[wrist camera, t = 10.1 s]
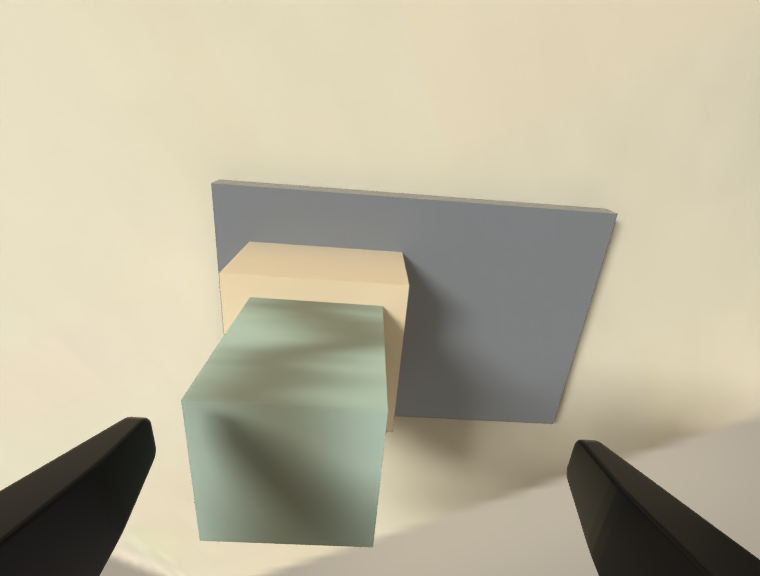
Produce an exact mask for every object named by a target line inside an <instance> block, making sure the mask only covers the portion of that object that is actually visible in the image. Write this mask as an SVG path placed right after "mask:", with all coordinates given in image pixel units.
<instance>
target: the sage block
mask: <svg viewBox="0 0 760 576" xmlns="http://www.w3.org/2000/svg"><path fill="white" fill-rule="evenodd" d="M181 402H182V410H183V417H184V425H185V432H186V440H187V447H188V455H189V462H190V470H191V477H192V485H193V492H194V500H195V507H196V515H197V522H198V530H199V537H200V541H223V542H249V543H275V544H301V545H327V546H353V547H373V542H374V533H375V524H376V515H377V505H378V496H379V487H380V478H381V469H382V460H383V451H384V442H385V433H386V424H387V415H388V403H387V383H386V364H385V344H384V325H383V306H376V305H361V304H346V303H331V302H315V301H300V300H285V299H270V298H255V297H250V298H249V299H248V301H247V302H246V304H245V305H244V307H243V308H242V310H241V311H240V313H239V314H238V316H237V317H236V319H235V320H234V322H233V323H232V325H231V326H230V328H229V329H228V331H227V332H226V334H225V335H224V337H223V338H222V340H221V341H220V343H219V344H218V346H217V347H216V349H215V350H214V352H213V353H212V355H211V356H210V358H209V359H208V361H207V362H206V364H205V365H204V367H203V368H202V370H201V371H200V373H199V374H198V376H197V377H196V379H195V380H194V382H193V383H192V385H191V386H190V388H189V389H188V391H187V392H186V394H185V395H184V397H183V398H182V400H181Z"/></svg>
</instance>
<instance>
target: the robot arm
mask: <svg viewBox="0 0 760 576" xmlns="http://www.w3.org/2000/svg"><path fill="white" fill-rule="evenodd" d="M155 453H156V446H155V441H154V436H153V431H152V426H151V422H150V420H149V419H147V418H142V417H127V418H125V419H123V420H121V421H119V422H118V423H116V424H114V425H113V426H111V427H109V428H107V429H106V430H104V431H102V432H101V433H99V434H97V435H95V436H94V437H92V438H90V439H89V440H87V441H85V442H83V443H82V444H80V445H78V446H77V447H75V448H73V449H71V450H70V451H68V452H66V453H65V454H63V455H61V456H59V457H58V458H56V459H54V460H53V461H51V462H49V463H47V464H46V465H44V466H42V467H41V468H39V469H37V470H35V471H34V472H32V473H30V474H29V475H27V476H25V477H23V478H22V479H20V480H18V481H17V482H15V483H13V484H11V485H10V486H8V487H6V488H5V489H3V490H1V491H0V576H100V574H101V572H102V570H103V568H104V566H105V564H106V563H107V561H108V559H109V557H110V555H111V554H112V552H113V550H114V548H115V546H116V544H117V542H118V540H119V538H120V537H121V535H122V533H123V530H124V528H125V526H126V524H127V522H128V519H129V517H130V515H131V512H132V510H133V508H134V505H135V503H136V501H137V498H138V496H139V494H140V491H141V489H142V487H143V484H144V482H145V479H146V477H147V475H148V472H149V470H150V468H151V465H152V463H153V461H154V458H155ZM567 479H568V483H569V486H570V489H571V492H572V496H573V499H574V502H575V506H576V509H577V512H578V515H579V519H580V522H581V525H582V528H583V532H584V535H585V539H586V542H587V545H588V548H589V550H590V553H591V556H592V559H593V562H594V564H595V567H596V569H597V572H598V574H599V576H760V560H759V559H758V558H756V557H755V556H754V555H753V554H751V553H750V552H749V551H747V550H746V549H744V548H743V547H742V546H740V545H739V544H738V543H736V542H735V541H733V540H732V539H731V538H729V537H728V536H727V535H725V534H724V533H723V532H721V531H720V530H719V529H717V528H716V527H714V526H713V525H712V524H710V523H709V522H708V521H706V520H705V519H703V518H702V517H701V516H699V515H698V514H697V513H695V512H694V511H693V510H691V509H690V508H689V507H687V506H686V505H685V504H683V503H682V502H681V501H679V500H678V499H676V498H675V497H674V496H672V495H671V494H670V493H668V492H667V491H666V490H664V489H663V488H662V487H660V486H659V485H657V484H656V483H655V482H653V481H652V480H651V479H649V478H648V477H647V476H645V475H644V474H642V473H641V472H640V471H638V470H637V469H636V468H634V467H633V466H632V465H630V464H629V463H628V462H626V461H625V460H623V459H622V458H621V457H619V456H618V455H617V454H615V453H614V452H613V451H611V450H610V449H609V448H607V447H606V446H604V445H603V444H602V443H600V442H598V441H595V440H578V441H577V442H576V443H575V445H574V448H573V451H572V454H571V458H570V461H569V464H568V467H567Z"/></svg>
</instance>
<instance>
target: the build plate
mask: <svg viewBox="0 0 760 576" xmlns="http://www.w3.org/2000/svg"><path fill="white" fill-rule="evenodd" d="M211 185H212V198H213V210H214V222H215V234H216V246H217V259H218V271H219V283H220V295H221V308H222V320H223V332H224V335H225V334H226V332H227V331H228V329H229V328H230V326H231V325H232V323H233V322H234V320H235V319H236V317H237V316H238V314H239V313H240V311H241V310H242V308H243V307H244V305H245V304H246V302H247V301H248V299H249V298H250V297H255V298H270V299H285V300H300V301H315V302H331V303H346V304H361V305H376V306H383V325H384V344H385V364H386V383H387V403H388V415H387V424H386V432H393V423H394V416H407V417H426V418H446V419H466V420H485V421H505V422H524V423H544V424H553V422H554V419H555V416H556V413H557V409H558V406H559V403H560V400H561V396H562V393H563V390H564V387H565V383H566V380H567V377H568V374H569V370H570V367H571V364H572V361H573V357H574V354H575V351H576V348H577V344H578V341H579V338H580V335H581V331H582V328H583V325H584V322H585V318H586V315H587V312H588V309H589V305H590V302H591V299H592V296H593V292H594V289H595V286H596V283H597V279H598V276H599V273H600V270H601V266H602V263H603V260H604V257H605V253H606V250H607V247H608V244H609V240H610V237H611V234H612V231H613V227H614V224H615V221H616V217H617V213H614V212H612V211H610V210H607V209H599V208H586V207H573V206H560V205H547V204H533V203H520V202H507V201H494V200H481V199H467V198H454V197H441V196H428V195H415V194H401V193H388V192H375V191H362V190H349V189H335V188H322V187H309V186H296V185H283V184H269V183H256V182H243V181H230V180H218V181H215V182H213V183H211Z"/></svg>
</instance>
